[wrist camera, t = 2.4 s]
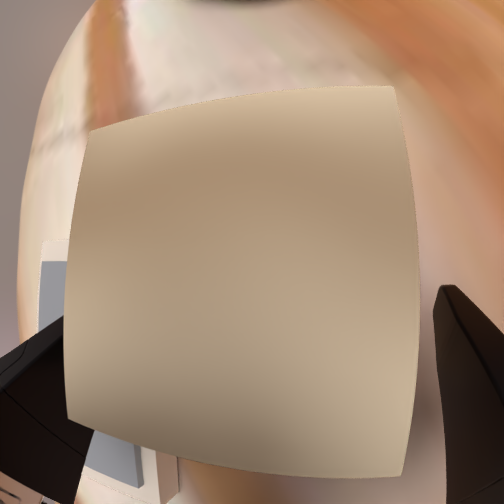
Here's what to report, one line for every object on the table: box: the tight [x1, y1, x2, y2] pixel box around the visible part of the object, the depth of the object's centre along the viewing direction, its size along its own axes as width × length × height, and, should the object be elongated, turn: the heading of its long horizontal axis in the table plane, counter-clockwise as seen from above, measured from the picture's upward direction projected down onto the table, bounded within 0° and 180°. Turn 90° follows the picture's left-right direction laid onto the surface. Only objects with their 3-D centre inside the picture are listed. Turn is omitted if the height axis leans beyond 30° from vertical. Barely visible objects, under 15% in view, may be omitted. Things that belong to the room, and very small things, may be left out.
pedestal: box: [37, 239, 179, 504], centre depth 17 cm, size 16×10×3 cm, turn 178°
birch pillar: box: [64, 86, 420, 478], centre depth 10 cm, size 6×6×12 cm
